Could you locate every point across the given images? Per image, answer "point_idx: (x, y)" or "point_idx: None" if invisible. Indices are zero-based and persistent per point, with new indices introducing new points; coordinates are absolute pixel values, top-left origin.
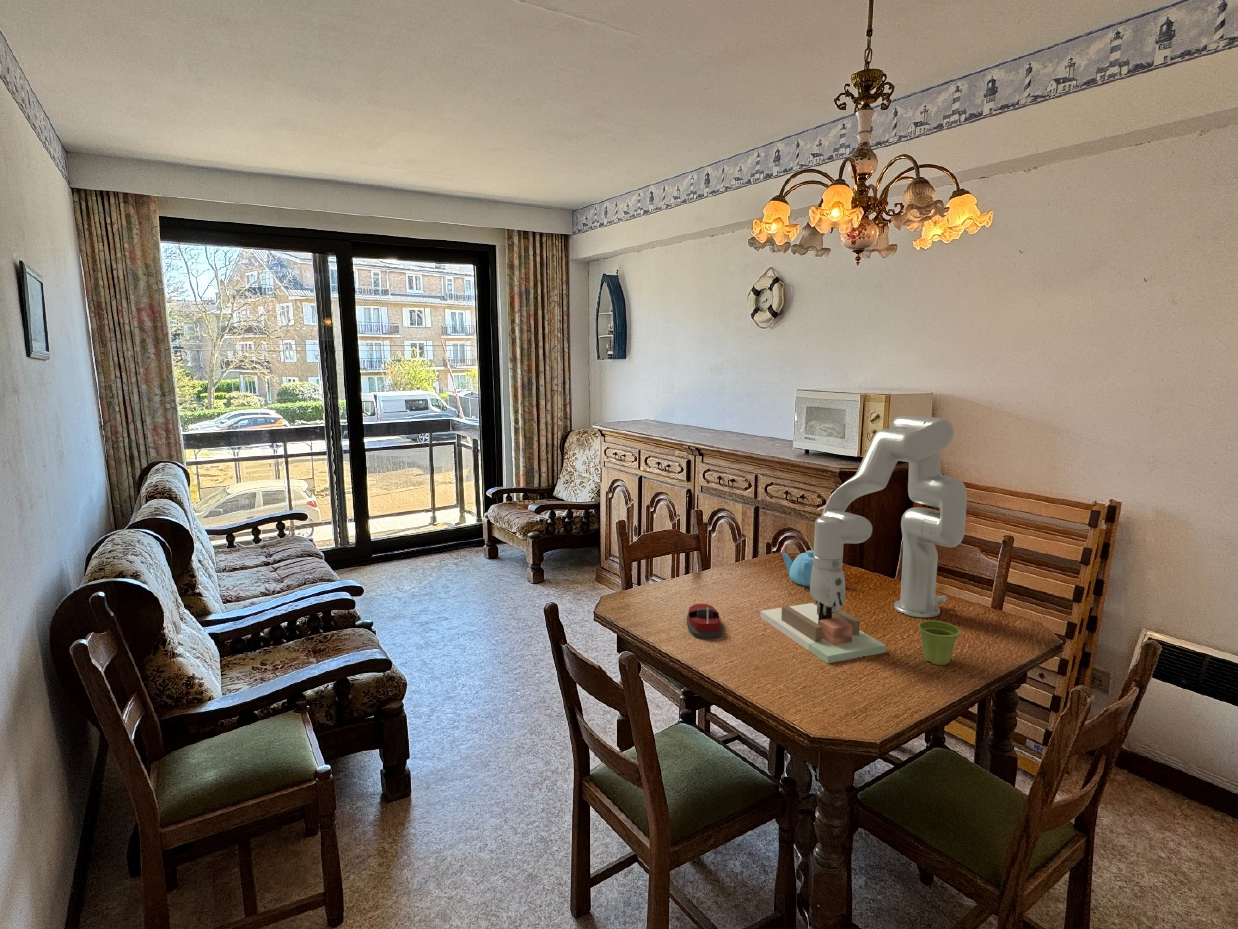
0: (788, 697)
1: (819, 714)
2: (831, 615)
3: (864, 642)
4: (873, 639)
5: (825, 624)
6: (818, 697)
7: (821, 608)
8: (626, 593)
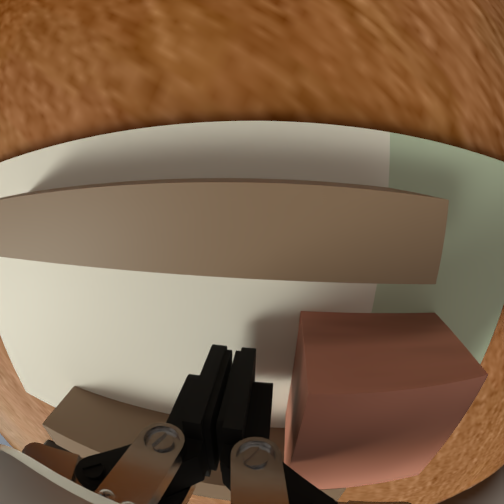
0: (430, 494)
1: (483, 468)
2: (243, 417)
3: (475, 251)
4: (472, 165)
5: (348, 484)
6: (468, 466)
7: (182, 490)
8: (3, 436)
